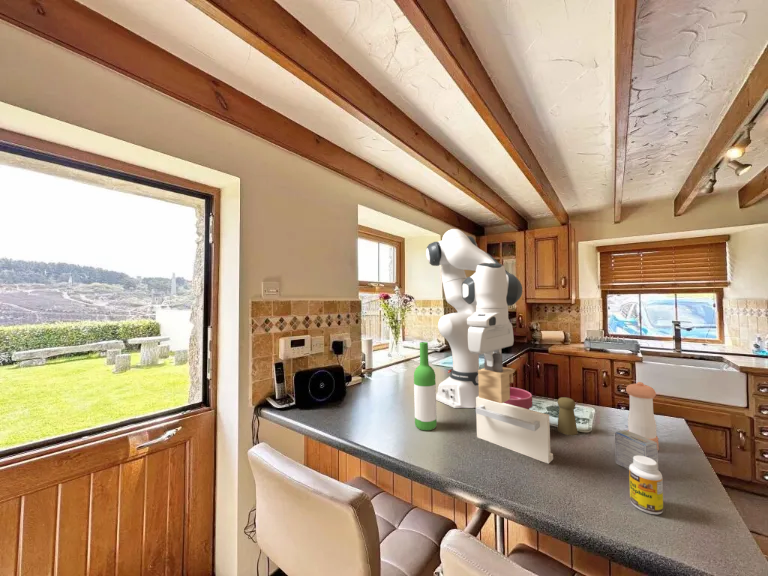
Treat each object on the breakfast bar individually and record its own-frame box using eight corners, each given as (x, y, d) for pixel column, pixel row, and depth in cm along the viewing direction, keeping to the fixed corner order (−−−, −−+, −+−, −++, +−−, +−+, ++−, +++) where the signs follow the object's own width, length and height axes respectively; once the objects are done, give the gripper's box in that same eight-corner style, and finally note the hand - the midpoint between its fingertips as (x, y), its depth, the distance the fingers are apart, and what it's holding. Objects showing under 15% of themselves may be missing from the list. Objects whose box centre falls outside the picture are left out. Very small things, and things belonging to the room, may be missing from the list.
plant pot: (517, 419, 114) (516, 384, 114) (542, 436, 100) (541, 397, 100) (481, 422, 112) (480, 387, 112) (502, 441, 98) (501, 400, 98)
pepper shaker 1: (580, 435, 100) (579, 402, 100) (560, 434, 101) (559, 401, 101) (573, 427, 106) (572, 395, 106) (554, 426, 107) (553, 395, 107)
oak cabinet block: (478, 397, 90) (477, 353, 90) (492, 390, 96) (491, 349, 96) (501, 403, 85) (500, 356, 85) (515, 396, 90) (513, 352, 91)
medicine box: (659, 476, 78) (658, 442, 78) (647, 480, 76) (645, 445, 76) (627, 460, 85) (625, 429, 85) (615, 463, 84) (614, 431, 84)
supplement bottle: (624, 502, 68) (622, 456, 69) (638, 495, 71) (637, 451, 71) (654, 519, 63) (653, 469, 63) (669, 511, 66) (667, 463, 66)
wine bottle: (423, 420, 115) (421, 340, 115) (441, 426, 109) (439, 342, 110) (410, 427, 109) (408, 343, 110) (427, 433, 104) (425, 345, 104)
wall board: (471, 440, 98) (469, 400, 98) (482, 433, 103) (481, 395, 103) (543, 469, 82) (541, 420, 82) (553, 459, 87) (551, 412, 87)
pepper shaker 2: (665, 450, 90) (662, 385, 90) (644, 453, 89) (642, 386, 89) (640, 438, 97) (638, 378, 97) (621, 441, 96) (619, 379, 96)
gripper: (499, 314, 99) (500, 357, 99) (463, 319, 85) (464, 369, 85) (518, 315, 94) (519, 360, 94) (484, 321, 80) (485, 373, 80)
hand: (493, 365), depth 89 cm, fingers closed on oak cabinet block
